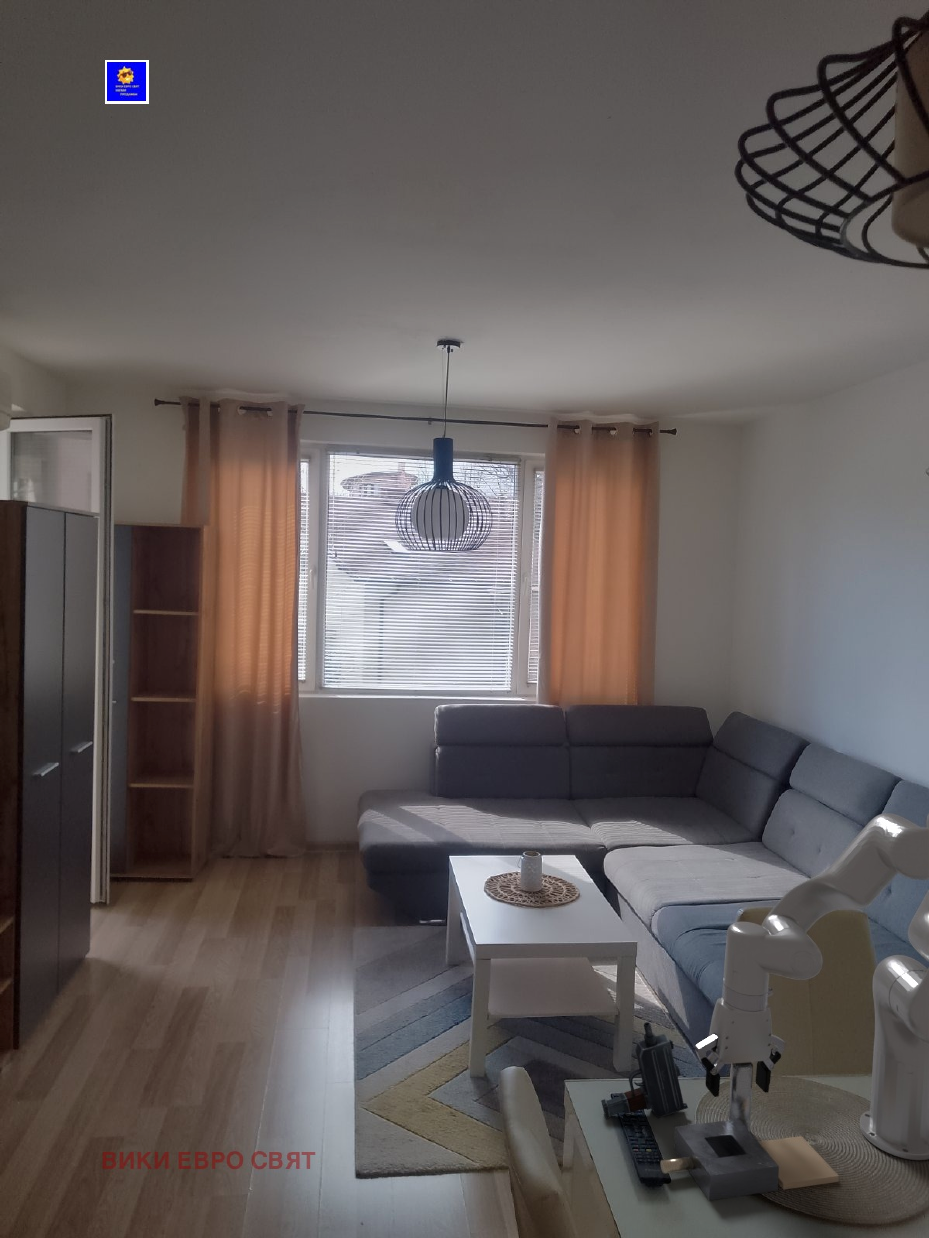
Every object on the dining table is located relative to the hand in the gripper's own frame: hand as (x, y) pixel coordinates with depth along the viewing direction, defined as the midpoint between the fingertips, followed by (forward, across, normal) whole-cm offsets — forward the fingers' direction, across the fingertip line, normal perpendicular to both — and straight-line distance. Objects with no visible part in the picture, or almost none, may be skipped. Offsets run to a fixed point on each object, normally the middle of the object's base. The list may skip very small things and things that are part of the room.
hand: (737, 1089), depth 151 cm
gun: (+8, +14, -7) cm, 18 cm away
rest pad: (+7, -5, +10) cm, 13 cm away
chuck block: (+7, +10, +9) cm, 15 cm away
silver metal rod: (+7, -1, 0) cm, 7 cm away
